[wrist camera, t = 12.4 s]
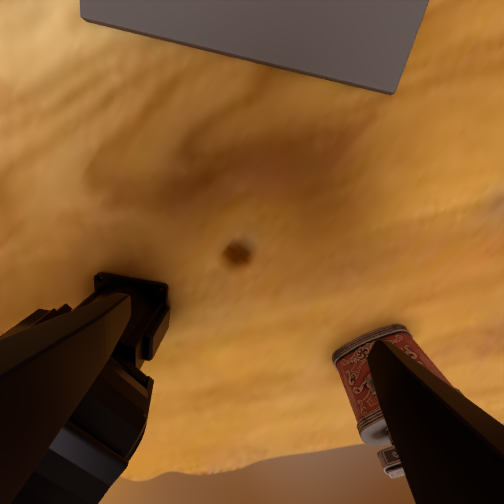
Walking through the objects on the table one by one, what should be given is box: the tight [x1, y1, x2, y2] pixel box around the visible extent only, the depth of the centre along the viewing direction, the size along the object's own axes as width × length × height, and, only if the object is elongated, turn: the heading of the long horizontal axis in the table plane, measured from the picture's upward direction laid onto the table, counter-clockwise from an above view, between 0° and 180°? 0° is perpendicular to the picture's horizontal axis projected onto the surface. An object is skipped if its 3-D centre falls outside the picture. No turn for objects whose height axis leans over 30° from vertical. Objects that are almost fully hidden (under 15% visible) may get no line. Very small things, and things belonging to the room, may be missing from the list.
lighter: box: [332, 324, 465, 478], centre depth 20 cm, size 8×3×10 cm, turn 125°
